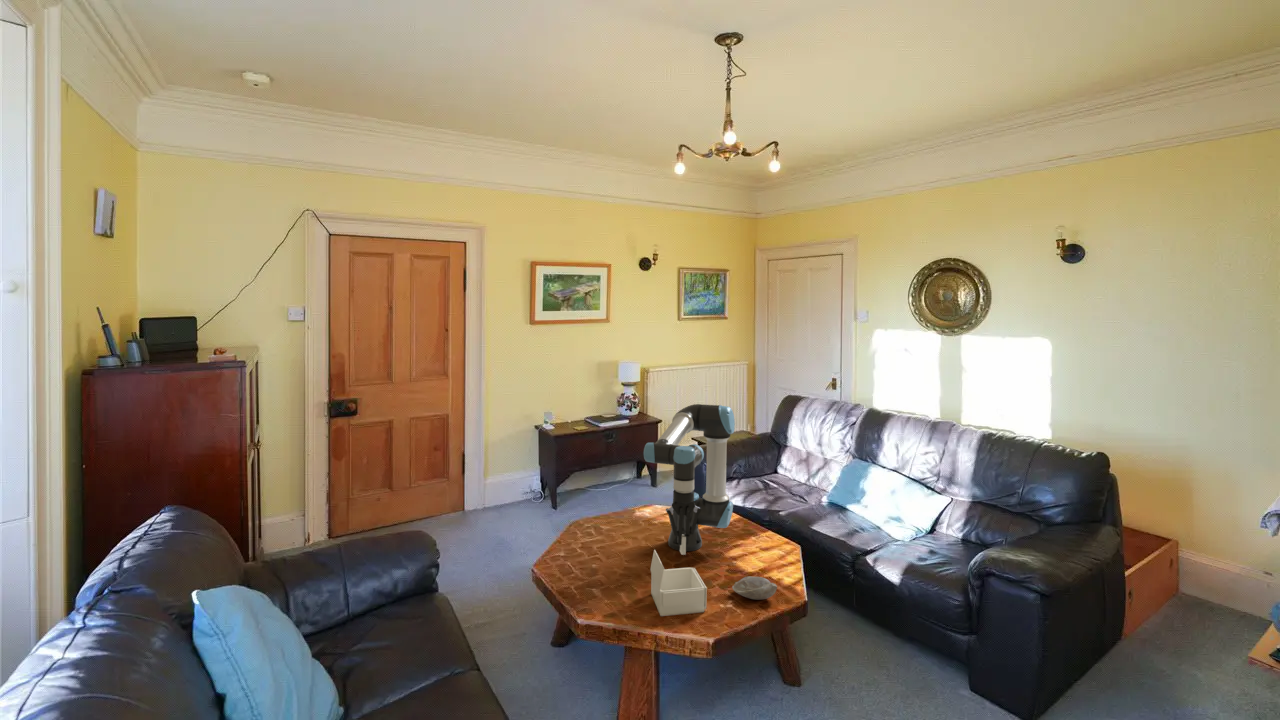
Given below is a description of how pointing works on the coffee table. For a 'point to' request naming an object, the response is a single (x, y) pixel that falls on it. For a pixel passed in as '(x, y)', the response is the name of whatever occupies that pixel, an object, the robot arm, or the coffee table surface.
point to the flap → (657, 569)
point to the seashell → (755, 588)
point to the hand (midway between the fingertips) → (682, 552)
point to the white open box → (679, 592)
